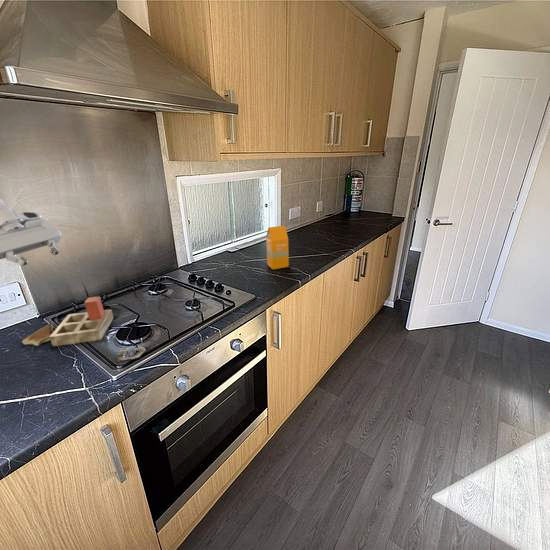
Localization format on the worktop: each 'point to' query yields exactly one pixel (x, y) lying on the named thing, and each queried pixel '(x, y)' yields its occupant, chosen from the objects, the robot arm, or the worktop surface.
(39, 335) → the shard
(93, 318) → the peg
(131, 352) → the grey flat piece
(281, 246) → the orange juice
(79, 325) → the four-pane grid frame
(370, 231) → the worktop surface
